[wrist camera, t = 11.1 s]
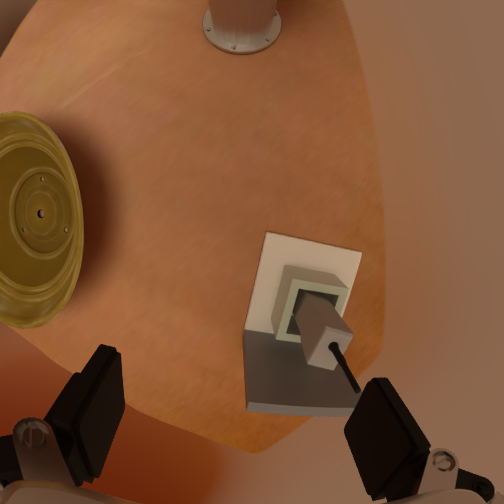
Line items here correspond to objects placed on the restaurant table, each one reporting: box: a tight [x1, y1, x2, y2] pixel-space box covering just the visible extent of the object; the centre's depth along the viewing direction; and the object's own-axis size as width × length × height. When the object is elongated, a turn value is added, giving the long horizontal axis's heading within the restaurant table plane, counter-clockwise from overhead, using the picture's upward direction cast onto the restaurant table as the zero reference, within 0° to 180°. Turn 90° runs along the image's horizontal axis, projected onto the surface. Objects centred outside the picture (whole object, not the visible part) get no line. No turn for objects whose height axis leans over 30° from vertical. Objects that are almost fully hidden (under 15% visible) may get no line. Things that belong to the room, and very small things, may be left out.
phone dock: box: [242, 231, 362, 417], centre depth 39 cm, size 18×16×19 cm
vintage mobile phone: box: [292, 289, 361, 394], centre depth 35 cm, size 4×5×25 cm
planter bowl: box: [0, 112, 84, 329], centre depth 36 cm, size 32×32×13 cm
